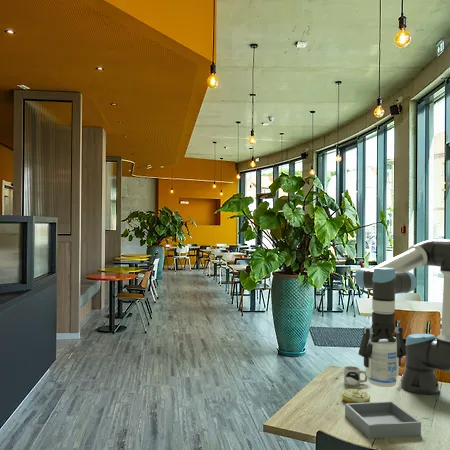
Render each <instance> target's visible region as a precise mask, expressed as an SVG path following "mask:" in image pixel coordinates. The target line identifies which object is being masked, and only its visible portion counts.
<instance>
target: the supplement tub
mask: <svg viewBox="0 0 450 450" xmlns="http://www.w3.org/2000/svg"><path fill="white" fill-rule="evenodd" d="M370 340H371V338H369V341H368V344H369V343H370V344H373V346H372V347H373V348H372V354H371V356H370V358H371V359H372V368H371V378H369V377H368V379H367V382H369V383H370V384H371V385H373V386H376V387H382V388H383V387H384V388H391V387H394V386H396V384H397V377H396V374H397V347H398V343H397V341H395V342H390V341H388V339H380V340H379V341H378V342H377V343H373V342H371V341H370Z"/></svg>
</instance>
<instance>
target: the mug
mask: <svg viewBox="0 0 450 450" xmlns="http://www.w3.org/2000/svg"><path fill="white" fill-rule="evenodd" d="M343 369H344V372H343V374H344V375H343V376H344V377H343V380H344V381H343V384H345V385H346V386H350V387H358V386H360V385H361V383H366V382H368V376H366V370H361V369H360V368H359V367H357V366H352V365H349V366H348V365H347V366H344V368H343ZM361 374H364V375H365V376H364V379H361Z"/></svg>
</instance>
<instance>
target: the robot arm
mask: <svg viewBox="0 0 450 450" xmlns="http://www.w3.org/2000/svg"><path fill="white" fill-rule="evenodd" d="M426 266H429V267H430V266H432V267H440V271H439V272H440V273H441V274H442V275H443V290H442V292H443V293H442V309H441V310H442V311H441V328H440V329H441V330H440V331H441V332H440V334H438V335H437V336H436V335H435V334H432V333H431V334H430V333H413V334H409V335H407V336H406V339H405V341H404V336H403V332H404V329H403V327H400V326H395V318H396V317H395V313H394V312H395V311H396V310H395V309H396V294H407V293H411V292H413V291H414V290H415V289H416V287H417V286H418V285H417V284H418V280H417V278H416V276H415V274H414V273H412V272H411V270H414V269H416V268H424V267H426ZM409 271H410V272H409ZM354 280H355V283H356V285H357V286H358V287H360V288H365V289H370V290H372V297H371V299H372V301H371V303H372V304H371V305H372V306H371V310H372V312H371V326H370V327H365V326H364V327H363V330H362V331H363V334H362V339H361V341H360V345H359V349H358V355H359V356H361V357H363V367H365V371H366V376H368V377H369V378H371V368H372V359H371V358H370V356H371V354H372V348H373V347H372V346H373V344H370V343H369V340H370V339H371V340H370V341H371V342H373V343H377V342H378V341H379V340H380V339H388V341H390V342H396V343H397V374H396V378H397V377H399V375H400V374H399V371H400V370H399V369H400V368H399V367H400V366H401V365H402V361H401V360H402V358H403V357H404V356H405V367H404V368H405V369H404V372H403V374H402V377H401V379H400V387H401V388H402V389H403V390H405V391H408V392H410V393H414V394H420V395H433V394H438V393H439V391H440V386H439V385H440V384H439V381H438V379H437V375H436V373H435V369H436V370H439V371H443V372H446V373H450V238H431V239H427V240H424V241H421V242H418V243H416V244H413V245H411V246H410V247H408V248H407V250H406V251H404V252H402V253H401V254H400V253H399V254H398V255H395V256H394V257H391V258H389V259H387V260H385V261H383V262H381V263H378V264H377V265H375V266H373V267H370V268H368V267H365V268H364V267H361V268H358V269H357V270H356V272H355V275H354ZM394 333H395V337H396V341H395V337H394V335H393V334H394ZM371 334H372V335H371ZM370 337H371V338H370Z"/></svg>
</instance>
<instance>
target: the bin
mask: <svg viewBox="0 0 450 450" xmlns="http://www.w3.org/2000/svg"><path fill="white" fill-rule="evenodd" d="M344 405H345V406H344V416H345V417H346V418H347V419H348V420H349V421H350V422H351V423H352V424H353V425H354V426H356V427H357V429H358V430H360V431H361V432H362V434H363V435H365V437H367V439H369V440H370V439H383V438H385V439H386V438H398V437H399V438H400V437H411V436H413V437H414V436H416V437H417V436H421V435H422V422H421V421H420V420H419V419H417V418H416V417H414V416H413V415H412V414H410V413H409V412H407V411H406V410H405V409H404V408H402V407H401V406H400V405H398V404H397V403H395V402H394V401H391V400H390V401H387V400H386V401H373V402H371V401H370V402H368V403H344Z"/></svg>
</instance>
